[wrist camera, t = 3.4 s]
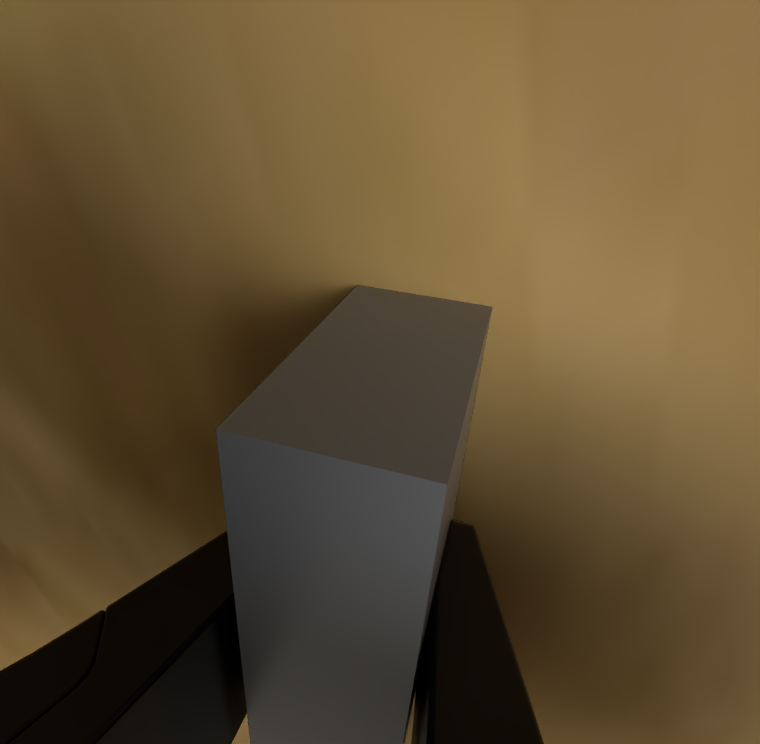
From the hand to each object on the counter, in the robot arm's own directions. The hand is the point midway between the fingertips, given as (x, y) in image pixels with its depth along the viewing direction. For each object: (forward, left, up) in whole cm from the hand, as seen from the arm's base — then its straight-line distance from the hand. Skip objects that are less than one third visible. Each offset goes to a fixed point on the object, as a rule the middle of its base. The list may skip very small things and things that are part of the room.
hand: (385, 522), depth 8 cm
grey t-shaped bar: (0, +8, -1) cm, 8 cm away
